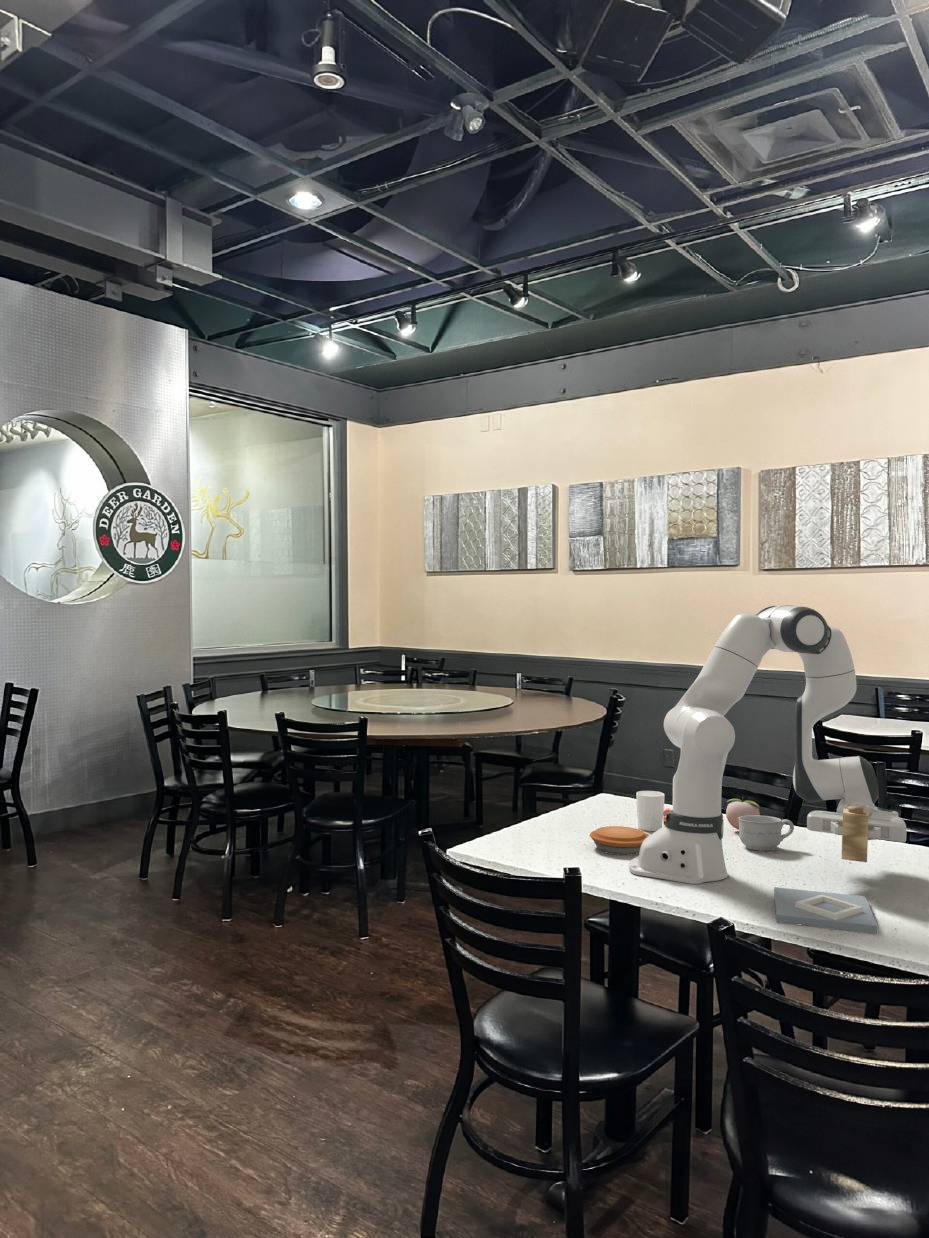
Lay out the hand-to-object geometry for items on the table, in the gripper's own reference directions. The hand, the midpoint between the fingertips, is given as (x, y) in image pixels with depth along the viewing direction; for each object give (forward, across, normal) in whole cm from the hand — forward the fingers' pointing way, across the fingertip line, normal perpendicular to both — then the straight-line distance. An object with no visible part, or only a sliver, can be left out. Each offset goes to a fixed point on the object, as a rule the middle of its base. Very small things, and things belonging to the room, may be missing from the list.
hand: (855, 833), depth 184 cm
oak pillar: (-1, 0, +6) cm, 6 cm away
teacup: (-32, -21, +14) cm, 41 cm away
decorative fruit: (-47, -29, +14) cm, 57 cm away
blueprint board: (+15, -6, +14) cm, 21 cm away
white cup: (-39, -53, +14) cm, 68 cm away
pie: (-14, -55, +15) cm, 59 cm away
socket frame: (+17, -4, +12) cm, 21 cm away
